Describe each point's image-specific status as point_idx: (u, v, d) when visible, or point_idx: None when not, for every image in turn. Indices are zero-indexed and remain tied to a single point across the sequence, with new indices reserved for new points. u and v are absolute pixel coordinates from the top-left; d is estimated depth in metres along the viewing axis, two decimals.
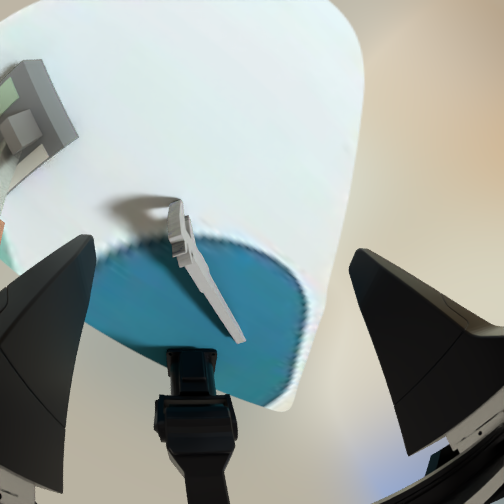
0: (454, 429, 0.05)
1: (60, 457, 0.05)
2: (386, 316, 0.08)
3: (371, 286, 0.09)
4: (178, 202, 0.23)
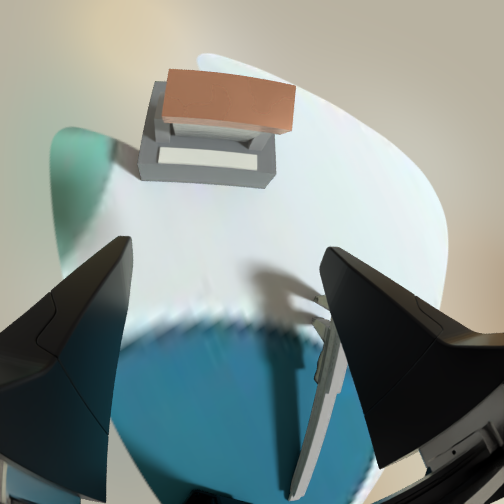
0: (427, 445, 0.05)
1: (102, 465, 0.05)
2: (355, 319, 0.08)
3: (340, 287, 0.09)
4: None
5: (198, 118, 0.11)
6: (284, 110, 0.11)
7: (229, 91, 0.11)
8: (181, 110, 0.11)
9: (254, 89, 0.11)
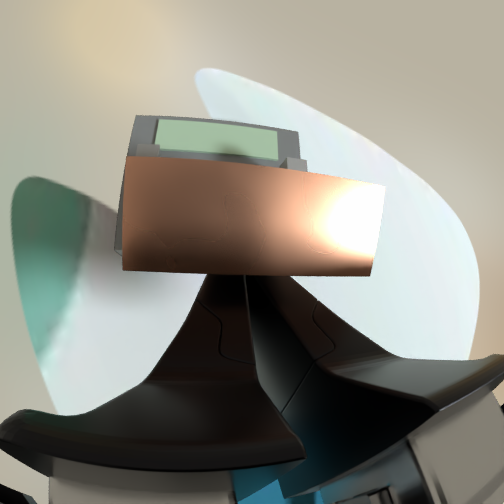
0: (325, 486, 0.04)
1: None
2: (251, 325, 0.07)
3: None
4: None
5: (198, 271, 0.06)
6: (362, 240, 0.06)
7: (261, 209, 0.06)
8: (161, 256, 0.05)
9: (312, 200, 0.06)
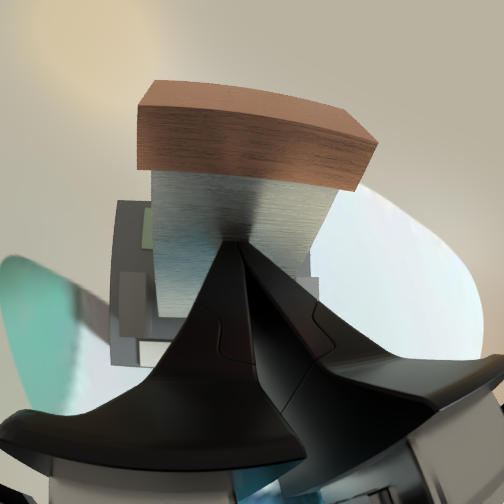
0: (325, 486, 0.04)
1: None
2: (251, 325, 0.07)
3: None
4: None
5: (212, 112, 0.05)
6: (350, 123, 0.07)
7: (256, 97, 0.06)
8: (177, 101, 0.05)
9: (293, 101, 0.07)
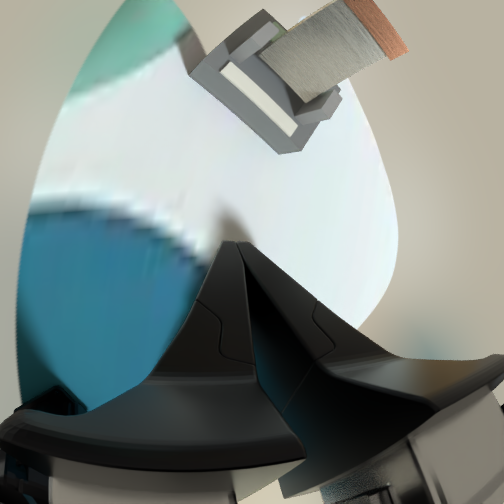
0: (325, 487, 0.04)
1: None
2: (251, 325, 0.07)
3: None
4: None
5: (373, 2, 0.11)
6: None
7: None
8: None
9: None
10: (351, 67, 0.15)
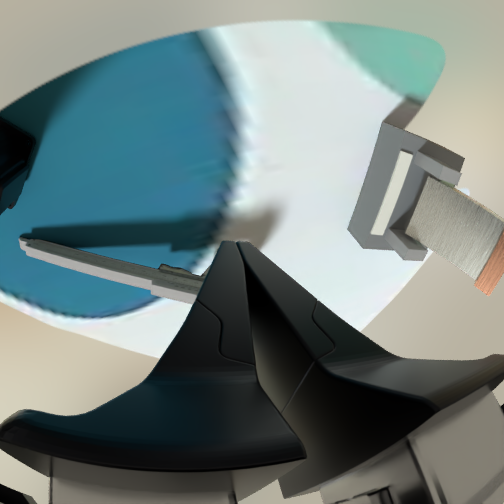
0: (325, 486, 0.04)
1: None
2: (251, 325, 0.07)
3: None
4: None
5: None
6: None
7: None
8: None
9: None
10: (453, 256, 0.18)
